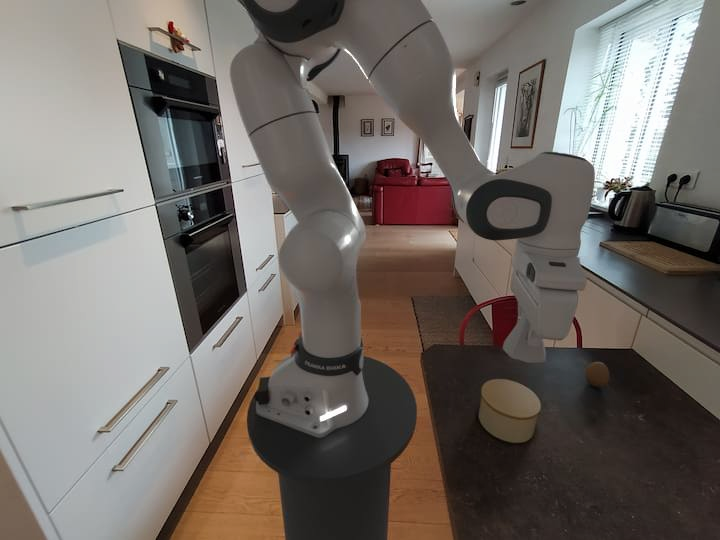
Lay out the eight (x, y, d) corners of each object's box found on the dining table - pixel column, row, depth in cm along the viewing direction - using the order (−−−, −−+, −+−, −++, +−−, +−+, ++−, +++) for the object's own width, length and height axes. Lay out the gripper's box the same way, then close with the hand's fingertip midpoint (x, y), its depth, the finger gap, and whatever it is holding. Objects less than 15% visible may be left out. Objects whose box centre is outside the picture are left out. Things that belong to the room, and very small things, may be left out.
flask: (498, 339, 62) (507, 291, 59) (539, 344, 61) (550, 295, 57) (506, 361, 55) (516, 308, 52) (552, 367, 54) (566, 313, 51)
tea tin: (480, 438, 60) (485, 412, 58) (474, 399, 70) (478, 375, 68) (542, 448, 58) (548, 422, 56) (526, 407, 67) (532, 382, 65)
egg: (610, 392, 72) (618, 369, 70) (590, 391, 72) (597, 369, 70) (597, 378, 76) (604, 357, 74) (578, 378, 76) (584, 356, 74)
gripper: (509, 242, 62) (497, 307, 67) (540, 280, 43) (521, 366, 48) (544, 244, 61) (530, 310, 66) (593, 284, 42) (568, 373, 47)
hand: (527, 334), depth 57 cm, fingers closed on flask, 5 cm apart
